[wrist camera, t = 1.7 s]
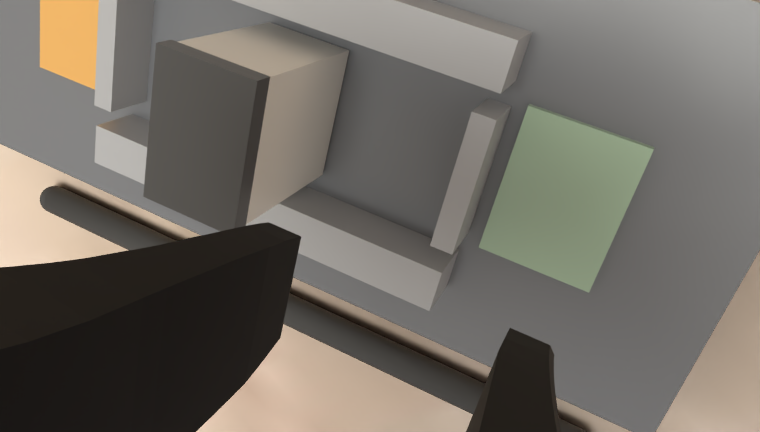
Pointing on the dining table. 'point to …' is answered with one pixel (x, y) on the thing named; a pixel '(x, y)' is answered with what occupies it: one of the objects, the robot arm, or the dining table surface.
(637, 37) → the breaker panel
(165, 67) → the grey and beige block
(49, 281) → the robot arm
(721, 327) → the dining table surface
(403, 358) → the dark grey rod
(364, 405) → the dining table surface
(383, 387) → the dining table surface
